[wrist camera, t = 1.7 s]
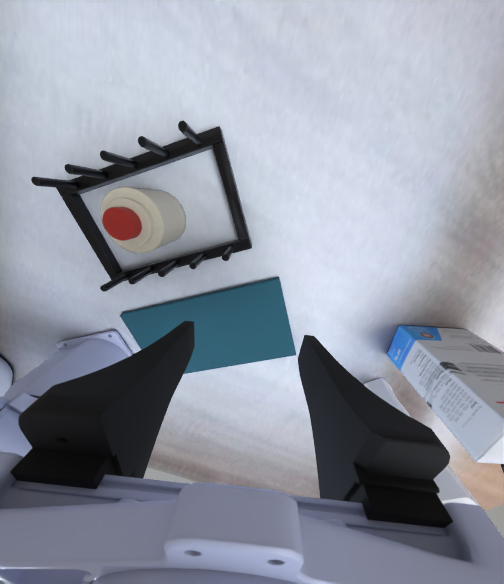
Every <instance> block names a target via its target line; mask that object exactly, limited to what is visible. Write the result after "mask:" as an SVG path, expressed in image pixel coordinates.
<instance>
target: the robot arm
mask: <svg viewBox="0 0 504 584" xmlns="http://www.w3.org/2000/svg"><path fill="white" fill-rule="evenodd" d="M56 346H57V348H58V349H59V351H58V352H57V353H55V354H54V355H52V356H51V357H50V358H48V359H47V360H46V361H44V362H43V363H42V364H40V365H39V366H38V367H36V368H35V369H33V370H32V371H31V372H29V373H28V374H27V375H25V376H24V377H23V378H21V379H20V380H19V381H17V382H16V383H15V384H13V385H12V386H11V387H10V388H9V389H8V391H7V392H6V393H5V395H4V397H3V396H2V397H0V584H504V538H503V536H502V535H501V533H500V532H499V531H498V530H497V528H496V527H495V525H494V524H493V522H492V521H491V520H490V518H489V517H488V516H487V514H486V513H485V511H484V510H483V509H482V507H480V506H478V505H472V504H463V503H445V504H442V502H441V500H440V499H439V497H438V495H437V494H436V493H439V492H440V489H439V488H438V486H437V484H436V483H435V481H434V478H435V477H436V476H437V475H438V474H439V473H441V472H442V471H443V470H444V469H445V468H446V466H447V465H448V464H449V460H450V455H449V452H448V451H447V449H446V448H445V447H444V445H443V444H442V443H441V441H440V440H439V439H438V437H437V436H436V435H435V433H434V432H433V431H432V429H430V428H429V427H427V426H425V425H423V424H422V423H420V422H418V421H417V420H415V419H413V418H411V417H410V416H408V415H406V414H404V413H403V412H401V411H400V410H398V409H397V408H395V407H394V406H392V405H390V404H389V403H387V402H386V401H385V400H383V399H382V398H380V397H379V396H377V395H376V394H375V393H373V392H372V391H371V390H369V389H368V388H367V387H365V386H364V385H363V384H362V383H361V382H359V381H358V380H357V379H356V378H355V377H353V376H352V375H351V374H350V373H349V372H348V371H347V370H346V369H345V368H344V367H343V366H342V365H340V364H339V362H338V361H337V360H336V359H335V358H334V357H333V356H332V355H331V354H330V353H329V352H328V351H327V350H326V349H325V348H324V346H323V345H322V344H321V343H320V342H319V341H318V340H317V339H316V338H315V337H314V336H309V335H304V339H303V342H302V346H301V349H300V353H299V356H298V365H299V372H300V377H301V381H302V385H303V389H304V393H305V397H306V401H307V405H308V409H309V413H310V419H311V425H312V431H313V438H314V446H315V453H316V461H317V470H318V479H319V489H320V498H311V497H302V496H293V495H288V494H286V493H284V492H280V491H275V490H269V489H260V488H252V487H243V486H234V485H225V484H216V483H193V484H185V483H177V482H169V481H160V480H150V479H143V477H144V474H145V471H146V468H147V465H148V462H149V459H150V456H151V453H152V450H153V447H154V444H155V441H156V438H157V435H158V433H159V430H160V427H161V424H162V422H163V419H164V416H165V414H166V411H167V408H168V406H169V403H170V401H171V398H172V396H173V394H174V392H175V390H176V388H177V386H178V384H179V382H180V380H181V378H182V376H183V374H184V372H185V369H186V367H187V365H188V363H189V361H190V359H191V356H192V353H193V350H194V347H195V336H194V322H192V321H184V322H182V323H181V324H180V325H178V326H177V327H175V328H174V329H173V330H171V331H170V332H169V333H167V334H166V335H164V336H163V337H162V338H160V339H158V340H157V341H155V342H154V343H152V344H151V345H149V346H148V347H146V348H144V349H142V350H141V351H139V352H137V353H135V354H132V353H131V351H130V350H129V348H128V347H127V345H126V344H125V342H124V341H123V339H122V338H121V336H120V335H119V333H118V332H117V331H115V330H112V331H108V332H103V333H99V334H94V335H89V336H85V337H80V338H75V339H71V340H66V341H61V342H58V343H57V344H56Z"/></svg>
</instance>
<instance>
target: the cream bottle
mask: <svg viewBox="0 0 504 584" xmlns="http://www.w3.org/2000/svg"><path fill="white" fill-rule="evenodd" d="M101 219H102V223H103V226H104V228H105V230H106V232H107V233H108V235H109V236H110V237H111V239H112V240H113V241H114V242H115V243H116V244H118V245H119V246H120V247H122V248H124V249H126V250H128V251H131V252H134V253H146V252H150V251H152V250H154V249H157V248H159V247H161V246H163V245H166V244H168V243H170V242H172V241H174V240H176V239H178V238H179V237H180V236H181V235H182V234H183V232H184V230H185V226H186V216H185V212H184V210H183V207H182V206H181V204H180V203H179V201H178V200H177V199H176V198H175V197H173V196H172V195H171V194H169V193H167V192H164V191H158V190H149V189H140V188H131V187H119V188H115V189H113V190H111V191H110V192H109V193H108V194H107V195H106V196H105V197H104V199H103V201H102V204H101Z"/></svg>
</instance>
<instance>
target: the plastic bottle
mask: <svg viewBox="0 0 504 584" xmlns="http://www.w3.org/2000/svg"><path fill="white" fill-rule="evenodd" d="M12 378H13V374H12V370H11V368H10V366H9V365H8V364H7V362H6V361H5V360H3V359H2V358H1V357H0V397H2V396H3V397H4V395H5V393H6V392H7V391H8V389H9V388H10V387H11V386H12Z"/></svg>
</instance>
